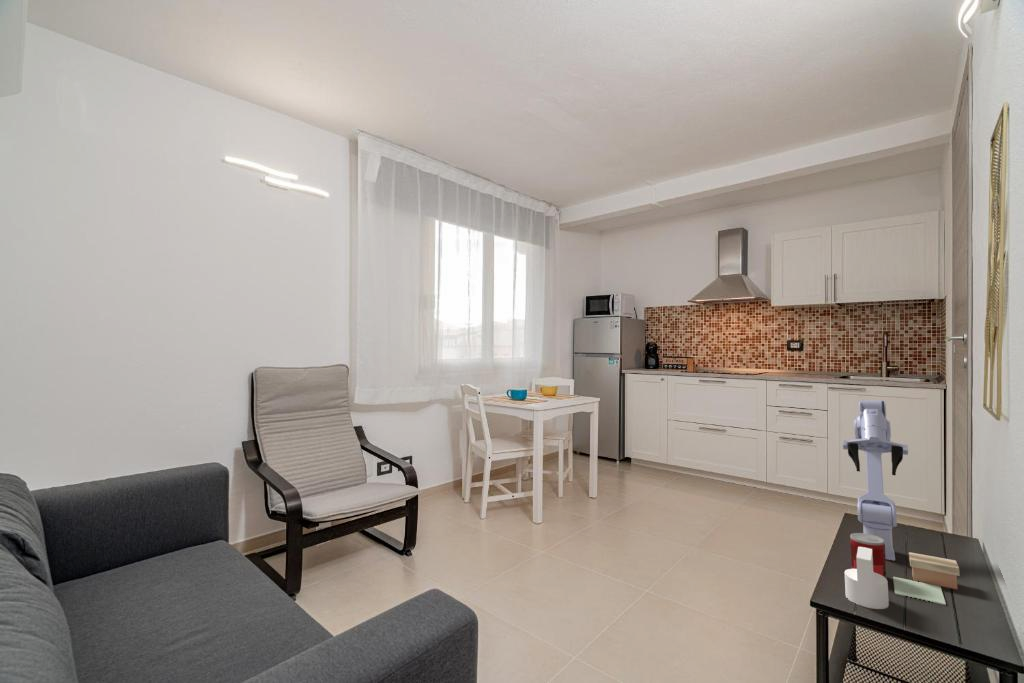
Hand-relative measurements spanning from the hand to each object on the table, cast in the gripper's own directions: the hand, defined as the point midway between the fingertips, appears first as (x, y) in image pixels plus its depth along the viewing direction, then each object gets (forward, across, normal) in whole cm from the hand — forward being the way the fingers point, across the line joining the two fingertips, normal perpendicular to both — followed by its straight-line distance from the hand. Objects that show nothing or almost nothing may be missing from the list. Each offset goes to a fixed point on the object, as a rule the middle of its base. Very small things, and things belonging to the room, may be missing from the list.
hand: (875, 471), depth 128 cm
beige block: (+8, +12, +30) cm, 33 cm away
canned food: (+16, -2, +29) cm, 33 cm away
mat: (+18, +8, +27) cm, 33 cm away
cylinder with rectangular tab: (+28, -3, +19) cm, 33 cm away
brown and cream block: (+11, +12, +33) cm, 37 cm away
